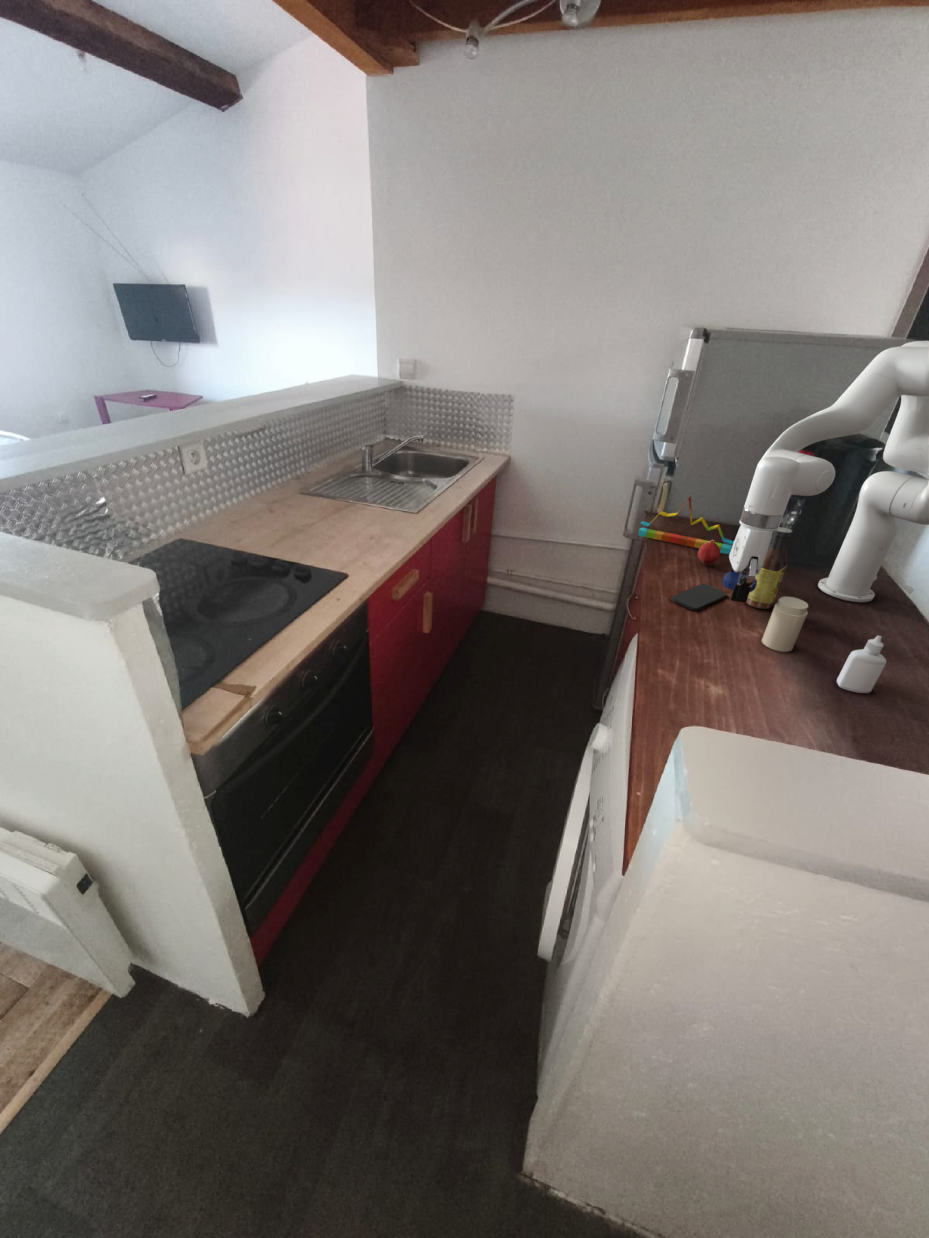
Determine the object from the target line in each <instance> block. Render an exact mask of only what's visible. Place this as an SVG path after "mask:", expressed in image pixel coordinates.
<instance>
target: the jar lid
mask: <svg viewBox="0 0 929 1238" xmlns="http://www.w3.org/2000/svg"><path fill="white" fill-rule="evenodd" d="M738 577H739V572H730V571H727V572H725V573H724V575H723V577H722V579H721V584H722V585H723V586H724V587H725V588H726V589H729V590H731V591H733V589H734V586H735V583H736V584H737V582H738ZM744 577H747V575H744V574H743V578H744ZM743 578H742V579H743ZM756 585H757V580H756V579H755V580H754V581H753V585H752V587H751V590H750V592H752V591H754V589H755V588H756Z"/></svg>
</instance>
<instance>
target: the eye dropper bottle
mask: <svg viewBox="0 0 929 1238" xmlns="http://www.w3.org/2000/svg"><path fill="white" fill-rule="evenodd" d="M883 648H884V643H883V641H882V636H881V635H876V636H875V637H874V638H871V639H868V640H867V641H866V644H865V646H864V647H863V648H862V649H855V650H852V651H850V653H849V655H848V656H847V658H846V660H845V663H844V664H843V666H842V668H841V671H840V672H839V675H838V676H837V678H836V684H837V685H838V687H839V688H841V689H842V690H845V691H849V692H852V693H857V694H870V693H871V692H872V690H873V689H874V687H875V685H876V683H877V682H878V680H879V678H880V676H881V674H882V673H883V670H884V668H885V667H886V664H887V659H886V658H885V656H884V655H882V653H881V652H882V650H883Z"/></svg>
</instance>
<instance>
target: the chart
mask: <svg viewBox="0 0 929 1238" xmlns="http://www.w3.org/2000/svg"><path fill="white" fill-rule="evenodd" d="M687 502H688V506H689V507H688V508H689V509H688V510H689V520H690V521H689V522H690V526H693V525H695V524H698V523H700V522H701V523H702V525H703V526H704V528H705V530H706V531H707V532H708V531H712V530H716V529H717V530H718V533H719V536H720V539H721V541H722V542H723V543H721V542H717V541H715V543H716V544H717V545H718V547H719V549H720V554H725V555H729V554H730V552H731V549H732V546H733V543H734V541H735V540H731V539H728V538H725V535H724V534H723V531H722V528H721V525H720V524H716V525H713V526H709V525H708V523H707V522H706V520H705V518H704V517H703V516H702V517H700V518H698V519H696V520H694V521H693V510H692V497H691V495H690V496H689V497H688V498H687V500H686V501H685V502H684V504H683V505H682V506H681V507H680V509H679V510H678V511H677V512H671V513H667V512H666V511H663V510H660V511H659V512H658V514H657V515H656V516H655V517H654V518H653V520H652V521H650V522H647V521H644V520H641V522H640V523H639V525H642V526H644V527H640V528H639V529H638V533H637V536H639V537H642V538H648V539H653V540H656V541H657V540H658V541H662V542H666V543H667V542H668V543H672V544H677V545H681V546H687V547H691V548H696V549H700V547H701V546H702V545H703V544H705V543H707V542H710V541H711V540H706V539H701V538H696V537H691V536H686V535H682V534H681V535H680V534H675V533H670V532H665V531H660V530H656V529H650V528H649V527H650V526H651V524H652V523H653V522H654V521H655V519H657V517H658V516H659V515H660V516H663V517H665V518H671V517H676V516H677V515H678V514H679V512H680V511H681V510H682V509H683V507H684V506H685V504H687ZM646 527H647V528H646Z"/></svg>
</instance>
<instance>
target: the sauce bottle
mask: <svg viewBox="0 0 929 1238" xmlns="http://www.w3.org/2000/svg"><path fill="white" fill-rule="evenodd" d="M792 535H793V530H792V529H790V528H787V527H784V526H783V527H782V526H779V529H778V530H776V531H773V533H772V537H771V541H770V544H769V547H768V551H767V554H766V557H765V560H764V563H763V566H762V568H761V570H760V572H759V574H757V575H756V578H755V579H756V580H757V585H756V588H755V589H754V591H752V592H750V593H749V596H748V599H747V601H746V602H745V603H746V604H747V605H748V606H750V607H752V608H755V609H757V610H758V609H760V610H768V609H770V608H771V607H772V606H773V603H774V602H775V600H776V597H777V594H778V592H779V589H780V586H781V583H782V580H783V577H784V574H785V571H786V569H787V567H788V544H789V541H790V539H791V537H792Z"/></svg>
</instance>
